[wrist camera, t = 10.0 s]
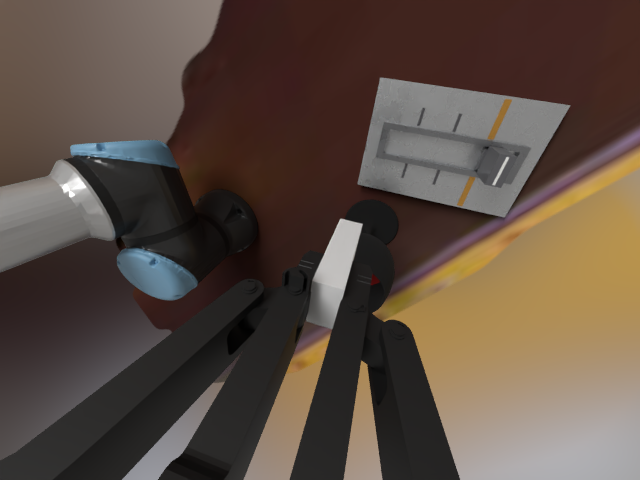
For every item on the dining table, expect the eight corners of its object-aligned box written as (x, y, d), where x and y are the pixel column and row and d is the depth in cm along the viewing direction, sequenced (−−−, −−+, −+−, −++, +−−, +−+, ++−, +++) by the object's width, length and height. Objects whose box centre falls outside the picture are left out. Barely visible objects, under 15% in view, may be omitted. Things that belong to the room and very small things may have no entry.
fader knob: (473, 171, 39) (483, 184, 34) (486, 144, 37) (498, 153, 31) (490, 174, 38) (502, 188, 33) (504, 147, 36) (519, 157, 31)
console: (359, 180, 47) (356, 186, 44) (381, 77, 38) (379, 77, 36) (501, 212, 43) (506, 220, 40) (562, 104, 34) (574, 106, 31)
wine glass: (407, 236, 49) (406, 311, 33) (360, 253, 55) (338, 325, 38) (383, 190, 46) (368, 247, 30) (335, 212, 51) (300, 272, 35)
